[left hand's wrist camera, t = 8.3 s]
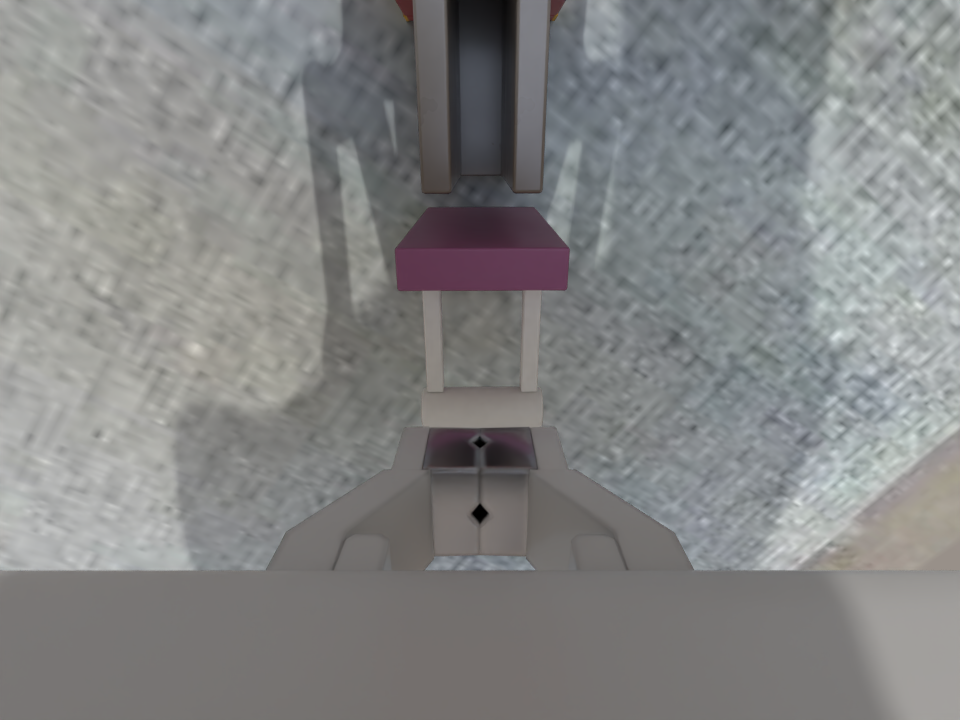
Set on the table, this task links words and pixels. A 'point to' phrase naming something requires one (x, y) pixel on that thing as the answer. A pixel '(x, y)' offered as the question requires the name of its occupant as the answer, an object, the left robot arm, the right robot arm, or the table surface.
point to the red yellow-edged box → (406, 7)
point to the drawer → (481, 152)
